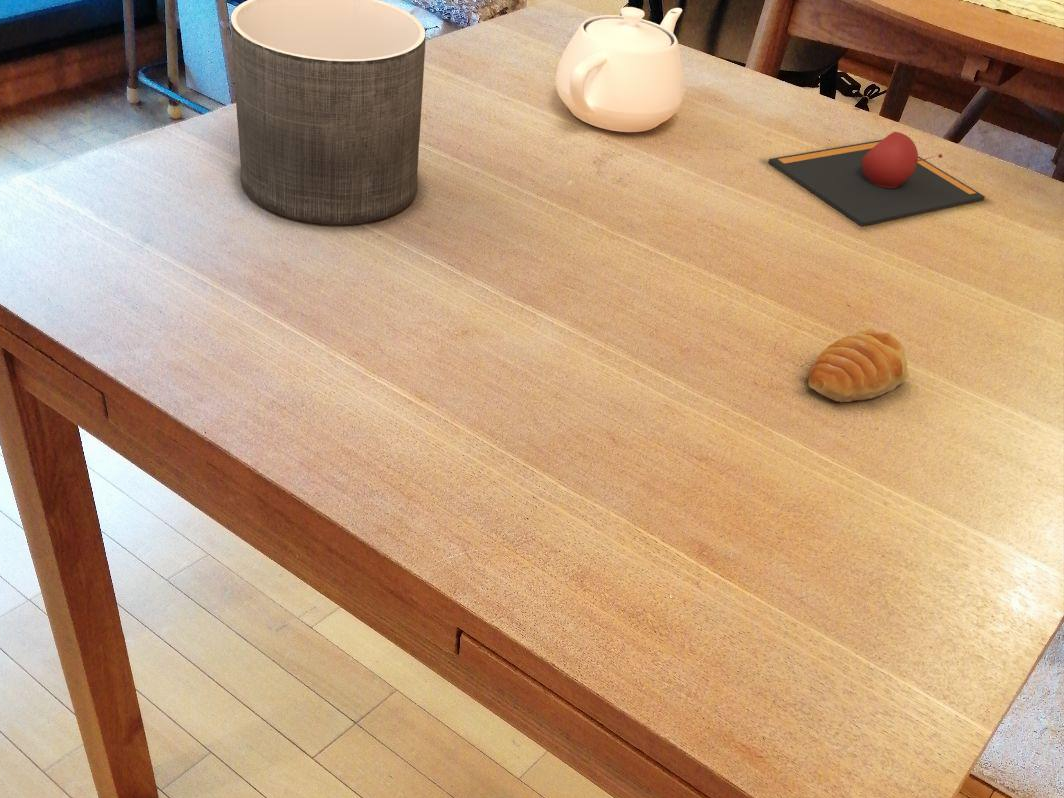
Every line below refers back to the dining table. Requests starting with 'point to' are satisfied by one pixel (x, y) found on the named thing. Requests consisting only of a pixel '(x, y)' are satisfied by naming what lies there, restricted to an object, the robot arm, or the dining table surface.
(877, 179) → the fruit
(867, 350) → the pastry
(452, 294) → the dining table surface
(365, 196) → the planter
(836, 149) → the corner mat
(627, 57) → the teapot
